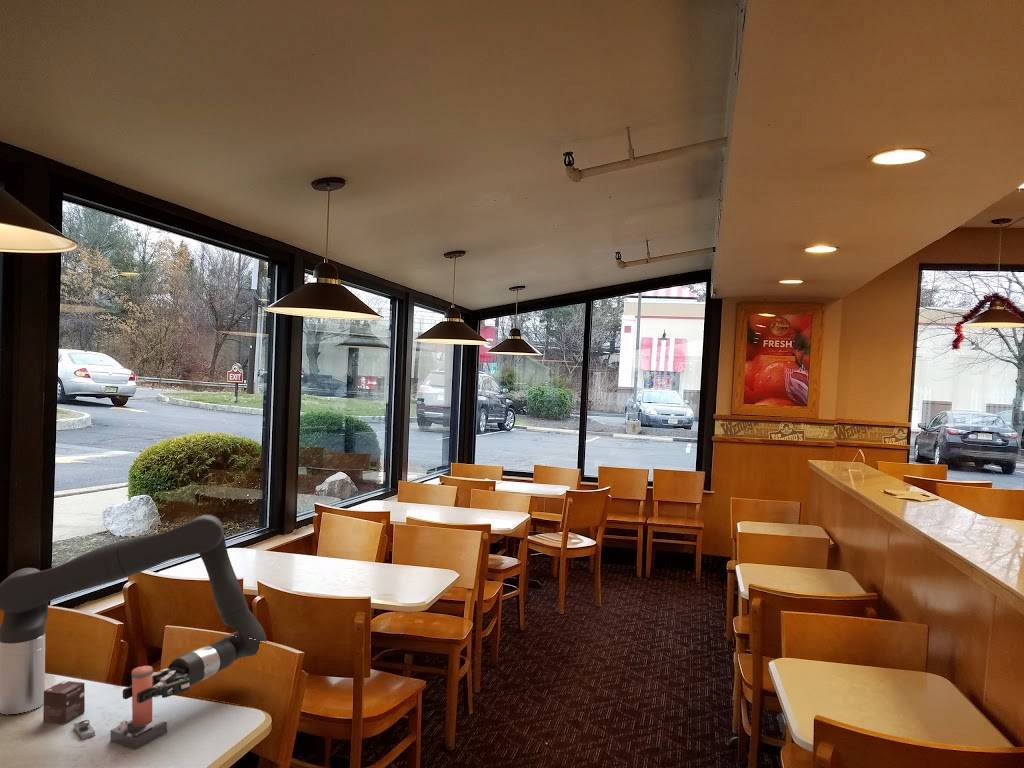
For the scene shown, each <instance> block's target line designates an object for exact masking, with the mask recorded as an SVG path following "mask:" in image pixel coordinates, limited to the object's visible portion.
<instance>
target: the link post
mask: <svg viewBox="0 0 1024 768" xmlns="http://www.w3.org/2000/svg"><path fill="white" fill-rule="evenodd" d="M153 672H154V668H153V667H152V665H151V666H150V665H141V666H137V667H135V668H133V669H132V670H131V686H132V697H131V707H132V708H131V709H132V711H131V716H132V717H131V720H132V725H133V726H135V727H141V726H145V725H146V726H147V725H150V724H151V723H152V722H153V698H150V699H148V700H146V701H144V702H142V703H137V694H138V693H139V692H141V691H143V690H146V689H148V688H150V687H152V673H153ZM146 726H145V727H146Z"/></svg>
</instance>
